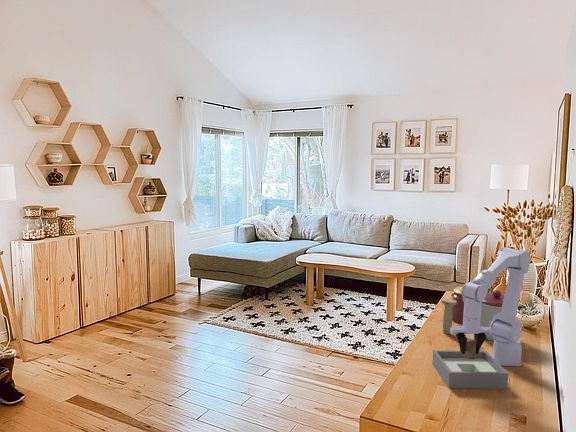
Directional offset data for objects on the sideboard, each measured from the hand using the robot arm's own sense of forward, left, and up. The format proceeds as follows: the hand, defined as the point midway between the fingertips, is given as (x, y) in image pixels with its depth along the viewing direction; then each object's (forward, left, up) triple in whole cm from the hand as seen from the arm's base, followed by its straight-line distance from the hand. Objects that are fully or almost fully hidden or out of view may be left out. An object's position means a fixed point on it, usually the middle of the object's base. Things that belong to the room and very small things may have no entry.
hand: (469, 352), depth 166 cm
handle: (-6, -40, -9) cm, 41 cm away
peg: (0, 0, -2) cm, 2 cm away
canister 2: (-25, -36, -9) cm, 45 cm away
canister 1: (-20, -57, -9) cm, 61 cm away
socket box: (0, 0, -9) cm, 9 cm away
